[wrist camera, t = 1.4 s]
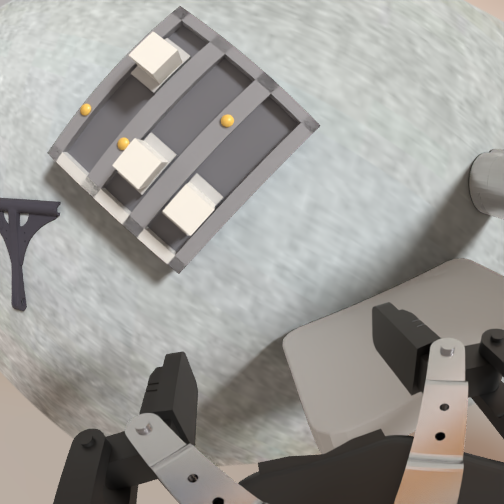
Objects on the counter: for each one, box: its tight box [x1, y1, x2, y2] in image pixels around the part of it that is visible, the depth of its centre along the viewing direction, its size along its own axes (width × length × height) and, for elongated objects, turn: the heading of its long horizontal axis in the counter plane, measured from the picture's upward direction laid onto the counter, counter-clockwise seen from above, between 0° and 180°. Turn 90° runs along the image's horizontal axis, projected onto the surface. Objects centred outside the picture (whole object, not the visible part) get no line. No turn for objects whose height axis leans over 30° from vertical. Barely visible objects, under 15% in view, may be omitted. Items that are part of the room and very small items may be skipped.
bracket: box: [0, 198, 60, 311], centre depth 32 cm, size 14×15×3 cm
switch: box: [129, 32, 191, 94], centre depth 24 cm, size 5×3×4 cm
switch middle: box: [112, 133, 177, 195], centre depth 26 cm, size 5×3×4 cm
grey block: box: [282, 258, 504, 454], centre depth 31 cm, size 29×8×18 cm, turn 110°
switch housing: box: [48, 6, 320, 274], centre depth 29 cm, size 20×19×4 cm
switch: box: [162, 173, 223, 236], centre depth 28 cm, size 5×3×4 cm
